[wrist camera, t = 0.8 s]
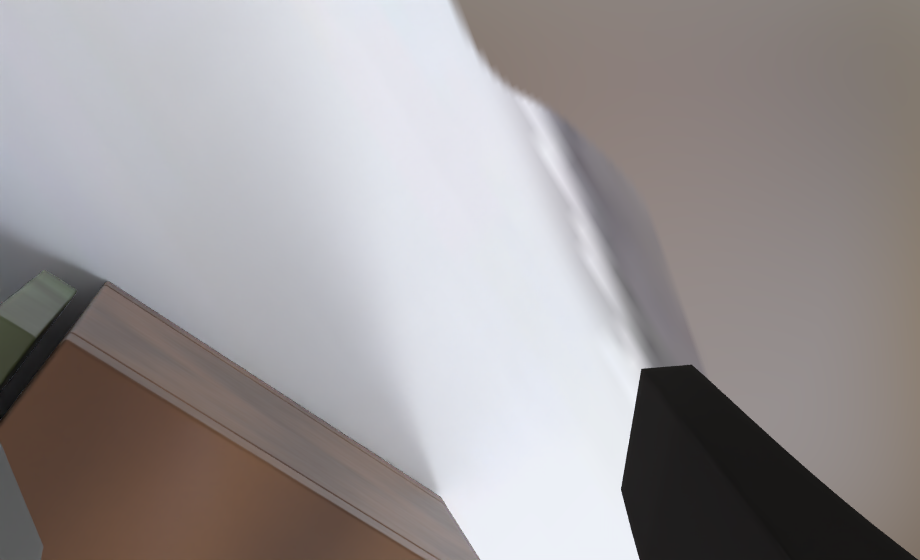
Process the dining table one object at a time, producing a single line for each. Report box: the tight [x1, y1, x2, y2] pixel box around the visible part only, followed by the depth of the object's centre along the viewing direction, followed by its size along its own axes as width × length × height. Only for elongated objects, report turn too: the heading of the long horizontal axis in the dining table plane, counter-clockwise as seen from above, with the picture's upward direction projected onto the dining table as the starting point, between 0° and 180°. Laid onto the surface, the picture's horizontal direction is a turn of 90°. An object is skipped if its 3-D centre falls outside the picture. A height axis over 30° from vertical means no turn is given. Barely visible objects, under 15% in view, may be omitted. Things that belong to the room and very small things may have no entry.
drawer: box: [0, 270, 77, 393], centre depth 25 cm, size 18×11×7 cm, turn 52°
